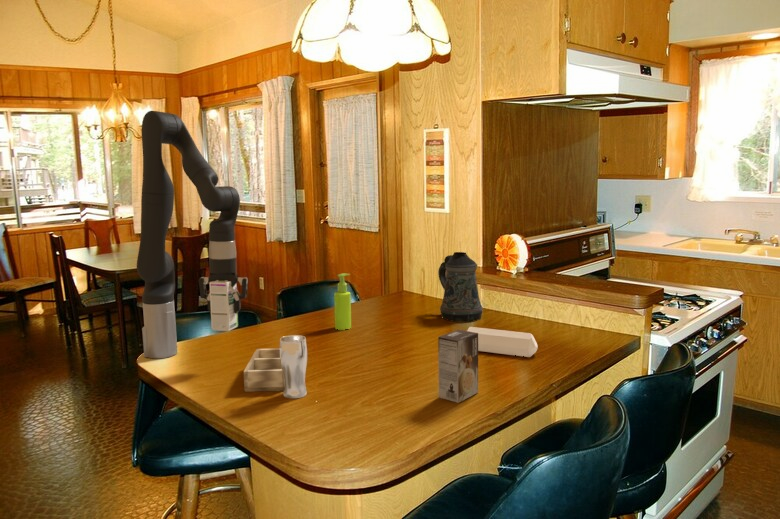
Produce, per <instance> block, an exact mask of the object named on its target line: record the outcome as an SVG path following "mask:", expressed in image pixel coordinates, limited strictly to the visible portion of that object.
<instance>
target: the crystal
mask: <svg viewBox="0 0 780 519" xmlns="http://www.w3.org/2000/svg"><path fill="white" fill-rule="evenodd" d="M466 331H469V332H475V333H478V352H486V353H491V354H492V353H493V354H501V355H507V356H515V355H516V357H523V356H524V357H526V358H531V357H532V356H533V355H534V354H535V353H536V352H537V350H538V347H539V346H538V343H537V341H536V339H535V337H534V335H533V334H532V333H529V332H522V331H512V330H504V329H494V328H487V327H486V328H485V327H476V326H475V327H474V326H469V327H468V329H466Z"/></svg>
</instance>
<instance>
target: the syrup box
mask: <svg viewBox="0 0 780 519" xmlns="http://www.w3.org/2000/svg"><path fill="white" fill-rule="evenodd" d="M208 282H209V281H208ZM230 284H231V281H229V282H227V281H212V282H209V293H210V306H211V313H210V322H211V324H210V326H211V330H212V331H219V332H230V331H232V330H234V329H236V328H238V327H239V312H238V313H235V308H234V301H235V298H234V297H233V295H232V294H231V289H230ZM235 287H236V288H237V289H238V287H237V283H236V284H235V286H234V287H233V289H234V290H235Z"/></svg>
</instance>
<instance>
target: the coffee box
mask: <svg viewBox="0 0 780 519" xmlns="http://www.w3.org/2000/svg"><path fill="white" fill-rule="evenodd" d="M437 342H438V343H437V344H438V345H437V347H438V350H437V351H438V354H437V356H438V398H440V399H443V400H447V401H450V402H453V403H457V404H459V403H461V402H464V401H465V400H466V399H468V398H470V397H473V396H474V395H476V394H478V393H479V351H478V333H475V332H469V331H467V330H463V329H456V330H454V331H451V332H448V333H446V334H443V335H440V336H438V340H437Z"/></svg>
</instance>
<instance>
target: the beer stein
mask: <svg viewBox="0 0 780 519" xmlns="http://www.w3.org/2000/svg"><path fill="white" fill-rule="evenodd" d="M477 269H478V264H477V263H476V261H475V260H473V259H472V258H470V257H469V256H468V254H467V252H465V251H464V252H463V251H457V252H456V251H455V252H454V253H453V254H451V255H446V256H445V258H444V261H442V262H441V263H440V266H439V267H438V270H437V271H438V273H437V274H438V278H439V282H440V285H441V286H442V288H443V290H444V291H443V298H442V301H441V305H440V308H439V311H440V315H441V318H442V317H443V318H445V319H444V320H446V319H448V320H447V321H450V320H453V321H452V322H457V321H468V322H474V321H473V320H476V321H478V320H477V319H479V320H481V319H482V315H483V311H484V310H483V309H484V308H483V306H482V303H481V301H480V296H479V290H478V289H479V288H478V282H477V275H476V271H477ZM443 318H442V319H443Z"/></svg>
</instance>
